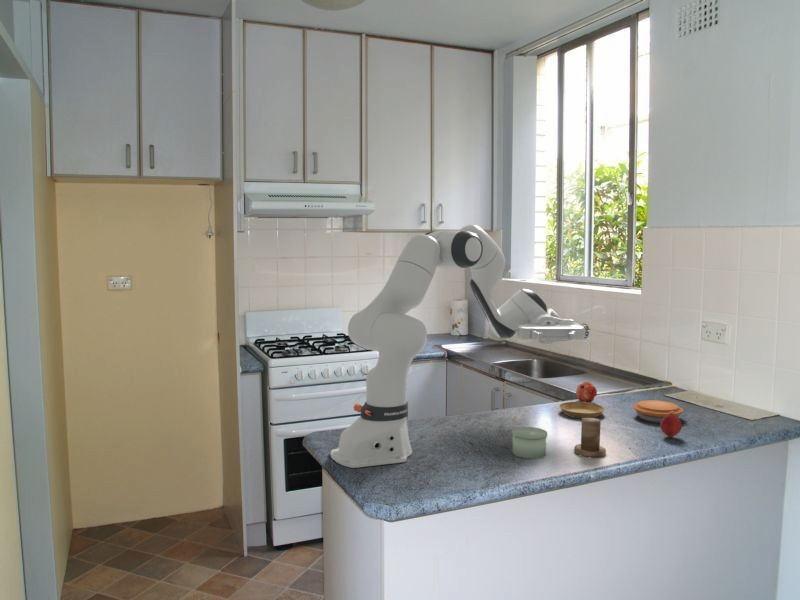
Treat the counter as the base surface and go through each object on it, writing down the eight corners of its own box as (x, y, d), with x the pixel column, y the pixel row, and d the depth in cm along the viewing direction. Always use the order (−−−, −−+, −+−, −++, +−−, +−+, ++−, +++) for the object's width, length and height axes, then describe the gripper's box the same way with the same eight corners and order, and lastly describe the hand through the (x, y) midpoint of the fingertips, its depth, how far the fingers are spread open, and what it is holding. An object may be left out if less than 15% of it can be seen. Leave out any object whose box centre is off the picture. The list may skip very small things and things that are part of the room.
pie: (674, 412, 228) (675, 398, 228) (689, 426, 213) (690, 410, 212) (627, 411, 230) (628, 397, 229) (639, 424, 214) (639, 409, 214)
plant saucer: (572, 406, 236) (572, 399, 236) (612, 414, 226) (612, 406, 226) (550, 414, 226) (550, 407, 225) (591, 423, 216) (591, 415, 215)
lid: (590, 459, 181) (591, 426, 180) (567, 450, 188) (569, 418, 187) (612, 454, 185) (613, 422, 184) (589, 445, 192) (590, 414, 191)
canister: (527, 461, 179) (527, 439, 179) (504, 451, 188) (504, 430, 187) (554, 455, 184) (554, 433, 184) (530, 445, 193) (531, 425, 192)
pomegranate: (581, 404, 247) (566, 390, 243) (593, 388, 248) (577, 374, 243) (595, 411, 241) (580, 397, 236) (607, 394, 241) (591, 380, 237)
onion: (668, 441, 197) (669, 414, 196) (655, 435, 202) (656, 409, 202) (685, 439, 198) (686, 413, 198) (672, 434, 204) (673, 408, 203)
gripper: (513, 319, 213) (521, 325, 199) (578, 319, 213) (590, 325, 199) (512, 339, 214) (520, 346, 200) (577, 339, 214) (589, 346, 200)
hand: (556, 336), depth 200 cm, fingers open, 8 cm apart
